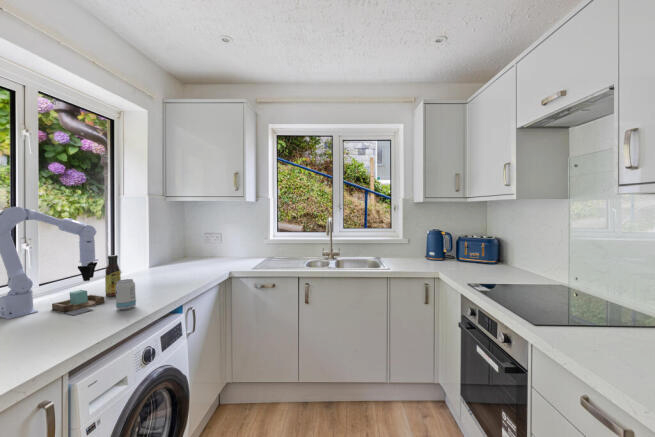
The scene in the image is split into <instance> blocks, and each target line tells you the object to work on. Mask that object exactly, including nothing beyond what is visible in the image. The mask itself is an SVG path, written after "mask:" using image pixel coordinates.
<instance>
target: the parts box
mask: <svg viewBox="0 0 655 437" xmlns="http://www.w3.org/2000/svg"><path fill="white" fill-rule="evenodd" d="M87 297H88V302H85V303H81V304H77V305H74V304H70V299H65V300H63V301H62V300H61V301H58V302H53V303H52V304H51V309H52V311H54V312H59V313H62V314H64V313H65V312H69V311H73V310H76V309H80V308H90V307H93V306H94V307H95V306H97V305H101V304H105V296H102V295H96V294H87Z"/></svg>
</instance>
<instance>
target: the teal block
mask: <svg viewBox="0 0 655 437" xmlns="http://www.w3.org/2000/svg"><path fill="white" fill-rule="evenodd" d="M87 295H88V290H84V289H79V290H74V291H70V292H69V300H70V304H74V305H77V304H81V303H85V302H88V297H87Z"/></svg>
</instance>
